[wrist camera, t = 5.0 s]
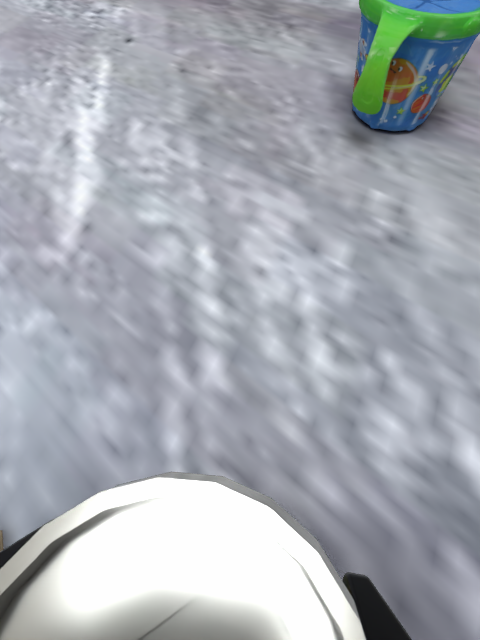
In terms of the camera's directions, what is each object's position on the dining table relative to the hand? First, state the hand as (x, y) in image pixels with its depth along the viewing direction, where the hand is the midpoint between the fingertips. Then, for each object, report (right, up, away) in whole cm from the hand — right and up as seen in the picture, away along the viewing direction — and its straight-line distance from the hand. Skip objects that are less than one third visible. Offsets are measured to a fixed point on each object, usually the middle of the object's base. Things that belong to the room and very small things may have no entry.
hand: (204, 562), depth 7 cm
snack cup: (+16, +26, +31) cm, 43 cm away
